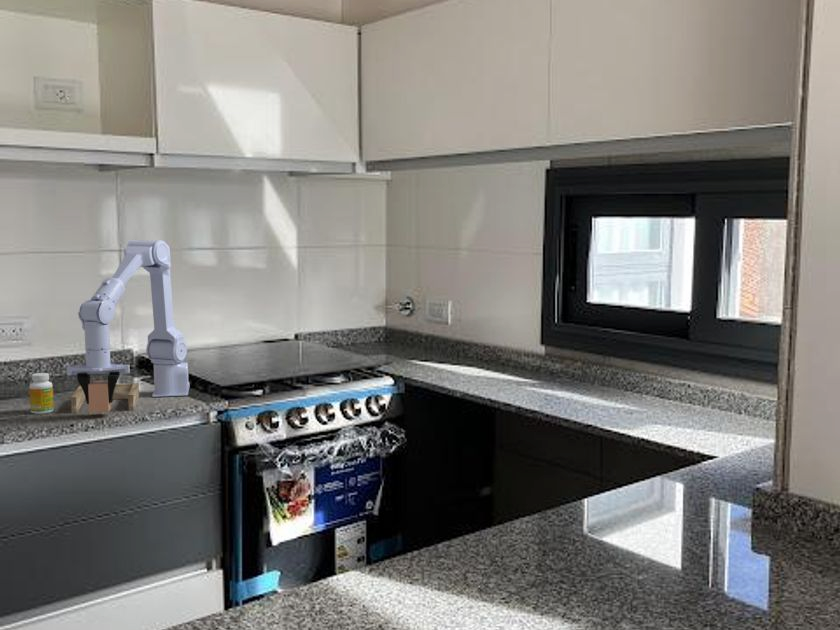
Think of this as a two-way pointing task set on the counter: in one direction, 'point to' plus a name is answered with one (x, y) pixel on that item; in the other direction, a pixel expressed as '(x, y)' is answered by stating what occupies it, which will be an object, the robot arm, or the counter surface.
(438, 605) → the counter surface
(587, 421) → the counter surface
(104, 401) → the block
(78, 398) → the wooden u-shaped frame
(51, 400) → the supplement bottle
